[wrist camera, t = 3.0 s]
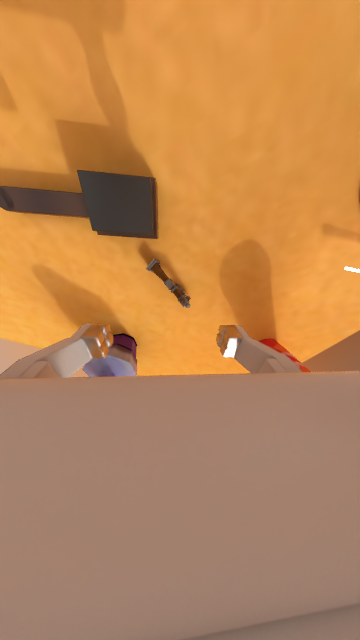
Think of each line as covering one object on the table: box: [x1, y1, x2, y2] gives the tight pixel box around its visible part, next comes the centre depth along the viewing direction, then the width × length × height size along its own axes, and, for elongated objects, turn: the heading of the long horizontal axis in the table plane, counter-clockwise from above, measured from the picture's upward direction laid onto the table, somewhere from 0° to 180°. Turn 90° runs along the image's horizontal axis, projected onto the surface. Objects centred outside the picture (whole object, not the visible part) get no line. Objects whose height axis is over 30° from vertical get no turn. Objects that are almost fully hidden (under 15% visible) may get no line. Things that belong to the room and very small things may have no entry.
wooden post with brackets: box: [146, 259, 191, 308], centre depth 19 cm, size 2×8×4 cm, turn 45°
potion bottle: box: [83, 333, 137, 377], centre depth 22 cm, size 9×9×12 cm
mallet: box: [0, 170, 158, 239], centre depth 14 cm, size 17×5×3 cm, turn 87°
